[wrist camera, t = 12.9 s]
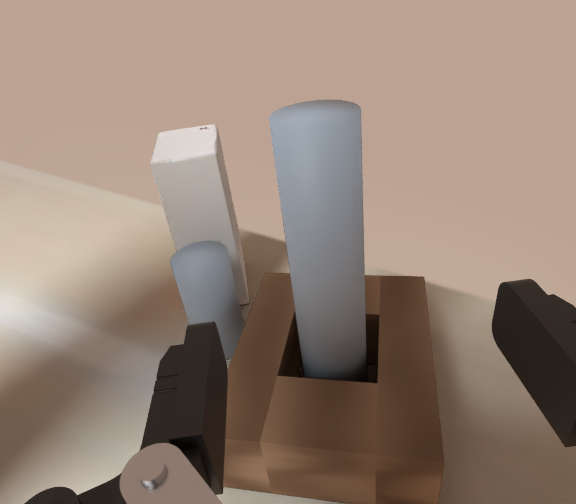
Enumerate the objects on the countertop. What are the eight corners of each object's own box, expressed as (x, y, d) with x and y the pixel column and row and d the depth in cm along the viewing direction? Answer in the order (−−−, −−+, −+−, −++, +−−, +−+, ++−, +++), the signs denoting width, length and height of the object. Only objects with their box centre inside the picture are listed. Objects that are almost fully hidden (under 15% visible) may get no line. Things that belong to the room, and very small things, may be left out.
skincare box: (195, 269, 37) (157, 131, 31) (245, 261, 38) (218, 121, 31) (193, 316, 32) (147, 161, 26) (250, 305, 33) (219, 150, 26)
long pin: (302, 417, 24) (259, 130, 15) (311, 369, 27) (279, 102, 18) (365, 423, 23) (358, 125, 15) (368, 373, 26) (363, 97, 17)
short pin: (189, 359, 29) (160, 272, 25) (206, 323, 31) (183, 240, 28) (238, 362, 28) (217, 273, 24) (252, 326, 31) (234, 241, 27)
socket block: (219, 486, 21) (202, 436, 19) (272, 318, 31) (265, 273, 29) (436, 515, 19) (444, 462, 17) (420, 325, 29) (424, 276, 27)
